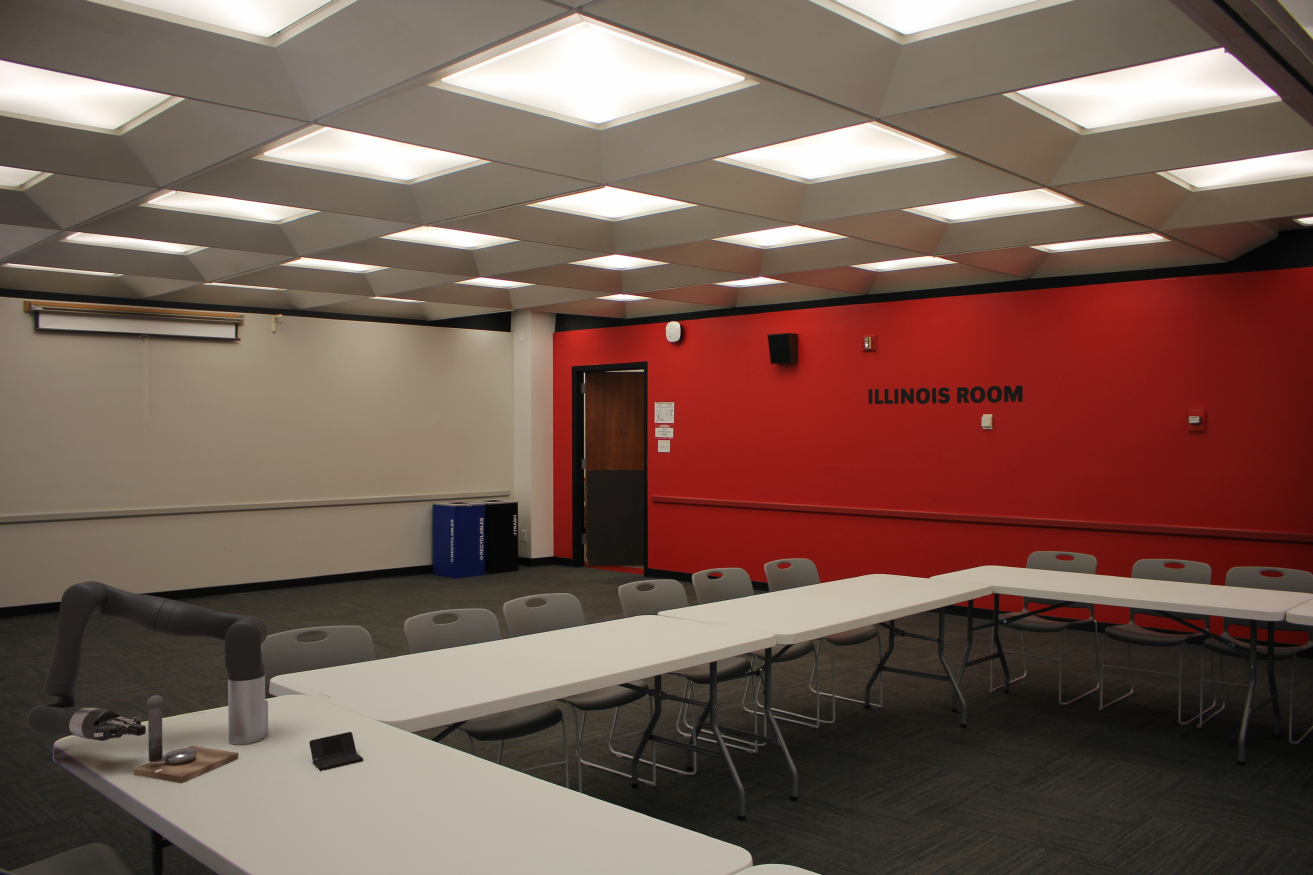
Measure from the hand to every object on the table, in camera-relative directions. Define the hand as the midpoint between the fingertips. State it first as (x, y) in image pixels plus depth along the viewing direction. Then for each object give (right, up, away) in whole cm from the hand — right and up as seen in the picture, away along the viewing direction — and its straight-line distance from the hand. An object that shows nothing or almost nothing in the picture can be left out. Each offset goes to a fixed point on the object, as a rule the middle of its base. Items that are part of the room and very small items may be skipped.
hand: (143, 730), depth 217 cm
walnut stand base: (+10, -10, +3) cm, 14 cm away
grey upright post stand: (+6, -8, +1) cm, 10 cm away
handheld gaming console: (+46, -10, +5) cm, 48 cm away
